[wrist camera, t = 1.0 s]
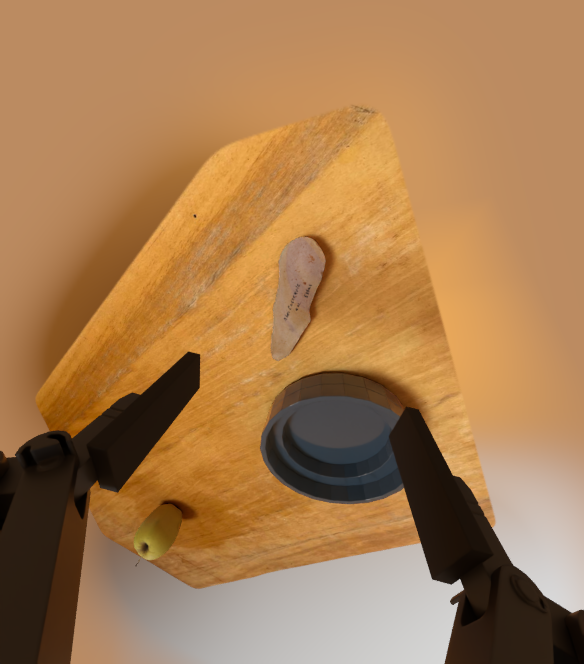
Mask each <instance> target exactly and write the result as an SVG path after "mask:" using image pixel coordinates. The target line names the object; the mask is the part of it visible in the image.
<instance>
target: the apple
mask: <svg viewBox="0 0 584 664" xmlns="http://www.w3.org/2000/svg"><path fill="white" fill-rule="evenodd" d="M181 522H182V512H181V510H179V509H178V508H176V507H175V506H174V505H173V504H164V505H161V506H159V507H157V508H156V509H155V510H154V511H153V512H152V513H151V514H150V515H149V516H148V517H147V518H146V519H145V521H144V522H143V523H142V524H141V525H140V527H139V528H138V530H137V532H136V534H135V537H134V547H135V549H136V551H137V552H138V554H139V555H140V556H141V557H143V558H144V559H147V560H154V559H157V558H159V557H161V556H162V555H163V554H165V553H166V552H167V551H168V549H169V548H170V547H171V546H172V544H173V543H174V541H175V539H176V537H177V535H178V532H179V529H180V526H181Z"/></svg>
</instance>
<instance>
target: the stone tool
mask: <svg viewBox="0 0 584 664" xmlns="http://www.w3.org/2000/svg"><path fill="white" fill-rule="evenodd" d="M325 262H326V260H325V256H324V253H323V251H322V249H321V248H320V247H319V245H318V243H317V242H316V241H315V240H313V238H309V237H298V238H297V239H294V240H292V241H291V242H290V243H288V244H287V245H286V246H285V248H284V249H283V251H282V253H281V256H280V259H279V276H280V277H279V286H278V290H277V294H276V298H275V303H274V306H273V333H272V338H271V353H272V357H273V359H275V360H277V361H279V360H281V359H283V358H285V357H286V356H288V355H289V354H290V353H291V350H292V349H293V348H294V346H295V344H296V343H297V342H298V340H299V338H300V336H301V334H302V333H303V331H304V330H305V328H306V327H307V325H308V323H310V321H311V317H310V313H309V308H310V304H311V302H312V300H313V297H314V295H315V293H316V290H317V287H318V285H319V284H320V281H321V279H322V273H323V271H324V268H325Z"/></svg>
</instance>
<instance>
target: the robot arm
mask: <svg viewBox="0 0 584 664" xmlns="http://www.w3.org/2000/svg"><path fill="white" fill-rule="evenodd" d="M199 388H200V354H196V353H192V352H187V353H186V354H185V355H184V356H183V357H182V358H181V359H180V360H179V361H178V362H177V363H175V364H174V365H173V366H172V367H171V368H170V369H169V370H168V371H167V372H166V373H164V374H163V375H162V376H161V377H160V378H159V379H158V380H157V381H156V382H155V383H153V384H152V385H151V386H150V387H149V388H148V389H147V390H146V391H145V392H144V393H142V394H141V395H139V394H135V393H130V394H128V395H126V396H124V397H122V398H120V399H119V400H118V401H117V402H115V403H114V404H113V405H112V406H111V407H110V408H109V409H107V410H106V411H105V412H103V413H102V415H101V416H99V417H97V418H96V419H95V420H94V421H93V422H91V423H90V424H89V425H88V426H87V427H85V428H84V429H83V430H82V431H81V432H79V433H78V434H77V435H76V436H75V437H73V438H72V439H71V436H70V434H68V433H67V432H65V431H59V430H58V431H51V432H47V433H44V434H41V435H38V436H36V437H34V438H33V439H31V440H29V441H28V442H26V443H25V444H24V445H23V446H21V447H20V448H19V450H18V451H17V452H16V454H15V456H16V457H12V458H6V457H5V455H4V453H3V452H2V451H0V664H70V661H71V652H72V643H73V635H74V626H75V619H76V611H77V602H78V593H79V585H80V577H81V569H82V560H83V552H84V543H85V534H86V527H87V518H88V510H89V502H90V488H91V487H92V486H93V484H94V483H95V482H96V481H97V480H98V482H99V485H100V488H103V489H107V490H110V491H114V492H117V493H118V492H119V490H120V489H121V488H122V487H123V485H124V484H125V483H126V481H127V480H128V479H129V478H130V476H131V475H132V474H133V472H134V471H135V470H136V469H137V467H138V466H139V465H140V464H141V462H142V461H143V460H144V458H145V457H146V456H147V455H148V453H149V452H150V451H151V449H152V448H153V447H154V446H155V444H156V443H157V442H158V440H159V439H160V438H161V437H162V435H163V434H164V433H165V432H166V430H167V429H168V428H169V426H170V425H171V424H172V423H173V421H174V420H175V419H176V417H177V416H178V415H179V414H180V412H181V411H182V410H183V408H184V407H185V406H186V405H187V403H188V402H189V401H190V399H191V398H192V397H193V396H194V394H195V393H196V392H197V391H198V389H199ZM388 437H389V440H390V443H391V446H392V450H393V453H394V456H395V459H396V463H397V466H398V469H399V473H400V476H401V479H402V482H403V486H404V489H405V492H406V495H407V499H408V502H409V505H410V508H411V512H412V515H413V518H414V522H415V525H416V528H417V531H418V535H419V538H420V541H421V544H422V548H423V551H424V554H425V557H426V561H427V564H428V567H429V570H430V574H431V577H432V579H433V580H437V581H440V582H444V583H447V584H453V583H454V582H456V581H457V580H459V579H460V580H461V582H462V585H463V588H464V590H463V591H462V592H460V593H458V594H457V595H456V596H454V597H453V598H452V599H451V601H450V602H451V604H452V605H454V604H455V603H457V602H459V603H458V607H457V612H456V616H455V620H454V626H453V629H452V634H451V638H450V642H449V647H448V651H447V656H446V660H445V664H584V610H579V611H576V612H574V613H571V612H569V611H568V610H566V609H564V608H563V607H561V606H560V605H558V604H556V603H555V602H553V601H552V600H550V599H548V598H547V597H545V596H544V595H543V594H542V593H541V591H540V590H539V589H538V587H537V586H536V585H535V584H534V582H533V581H532V580H531V579H530V578H529V577H528V576H527V575H526V574H525V573H523V572H522V571H521V570H519V569H518V568H517V567H515V566H513V564H512V563H511V561H510V559H509V557H508V556H507V554H506V552H505V550H504V549H503V547H502V545H501V543H500V541H499V539H498V538H497V536H496V534H495V532H494V531H493V529H492V527H491V525H490V523H489V522H488V520H487V518H486V517H485V516H484V513H483V511H482V509H481V507H480V506H479V505H478V502H477V500H476V498H475V497H474V495H473V493H472V491H471V490H470V488H469V487H468V486H467V485H466V484H465V482H464V481H463V480H462V479H461V478H460V477H456V476H453V475H452V473H451V471H450V469H449V467H448V465H447V463H446V461H445V459H444V457H443V456H442V454H441V452H440V450H439V448H438V446H437V444H436V442H435V440H434V438H433V436H432V434H431V432H430V430H429V429H428V427H427V425H426V423H425V421H424V419H423V417H422V415H421V413H420V411H419V410H418V409H414V408H410V407H406V408H405V410H404V411H403V413H402V415H401V416H400V418H399V420H398V421H397V423H396V425H395V426H394V428H393V430H392V431H391V433H390V435H389V436H388Z"/></svg>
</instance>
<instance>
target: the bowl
mask: <svg viewBox="0 0 584 664" xmlns="http://www.w3.org/2000/svg"><path fill="white" fill-rule="evenodd" d="M404 410H405V408H404V406H403V405H402V403H401V402H400V401H399V399H398V398H397V397H396V396H395V395H394V394H393V393H391V392H390V391H389V390H387V389H386V388H385V387H384V386H382V385H380V384H378V383H376V382H373V381H371V380H369V379H367V378H364V377H360V376H355V375H349V374H344V373H330V374H318V375H314V376H311V377H307V378H303V379H301V380H299V381H297V382H295V383H293V384H291V385H289V386H287V387H286V388H285V389H284V390H283V391H282V392H281V393H280V394H279V395H278V396H277V397H276V398H275V400H274V402H273V404H272V405H271V407H270V409H269V412H268V416H267V419H266V422H265V425H264V429H263V432H262V437H261V446H260V449H261V453H262V456H263V460H264V462H265V464H266V466H267V467H268V469H269V470H270V472H271V473H272V474H273V475H274V476H275V477H276V478H277V479H278V480H279V481H280V482H281V483H282V484H284V485H285V486H287V487H289V488H290V489H292V490H294V491H295V492H297V493H299V494H302V495H304V496H307V497H309V498H312V499H315V500H320V501H324V502H329V503H339V504H359V503H369V502H373V501H376V500H380V499H384V498H386V497H388V496H390V495H392V494H395V493H397V492H399V491H401V490H402V489H403V488H404V486H403V482H402V479H401V476H400V473H399V469H398V466H397V463H396V459H395V456H394V453H393V450H392V446H391V443H390V440H389V437H388V436H389V435H390V433H391V431H392V430H393V428H394V426H395V425H396V423H397V421H398V420H399V418H400V416H401V415H402V413H403V411H404Z"/></svg>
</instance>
